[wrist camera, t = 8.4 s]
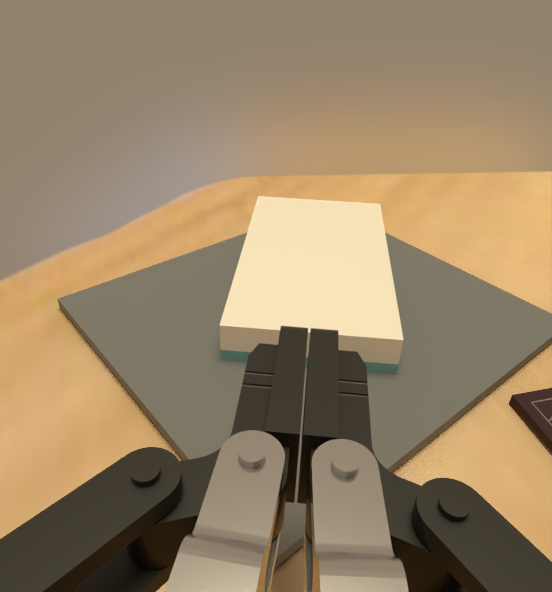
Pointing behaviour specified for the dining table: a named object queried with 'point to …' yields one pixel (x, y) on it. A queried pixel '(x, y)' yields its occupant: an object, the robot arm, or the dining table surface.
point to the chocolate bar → (536, 413)
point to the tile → (315, 280)
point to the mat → (229, 374)
